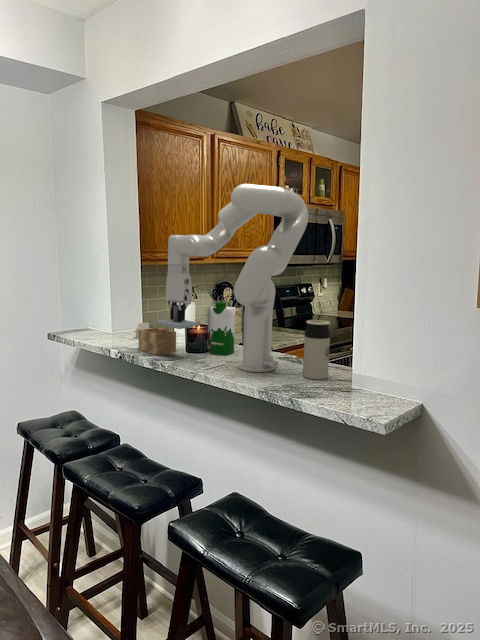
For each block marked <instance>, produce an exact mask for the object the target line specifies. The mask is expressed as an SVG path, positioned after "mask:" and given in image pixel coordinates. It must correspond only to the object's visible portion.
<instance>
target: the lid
mask: <svg viewBox="0 0 480 640" xmlns="http://www.w3.org/2000/svg"><path fill="white" fill-rule="evenodd" d="M177 310H179V309H178V304H177V305H173V320H171V319H170V318H167V319H157V320H155V321H156V324H159V325H162V326H164V327H168V328H173V329H177V330H181V329H190V328H194V327H195V326H196V327H197V326H199V325H200V324H199V322H197V321H191V320H187V319H185V321H177Z"/></svg>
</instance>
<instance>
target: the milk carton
mask: <svg viewBox="0 0 480 640" xmlns="http://www.w3.org/2000/svg"><path fill="white" fill-rule="evenodd" d="M209 308H210V317H211V323H210V348H209V354H210V355H217V356H218V355H219V356H225V357H227V356H228V355H230V354H234V353H235V322H236V321H235V318H236V310H237V307H235V306H234V307H233V306H227V303H226V302H224V301H216V302H215V306H213V307H209Z"/></svg>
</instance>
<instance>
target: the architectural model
mask: <svg viewBox="0 0 480 640" xmlns="http://www.w3.org/2000/svg"><path fill="white" fill-rule="evenodd" d="M137 325H138V326H137V328H136V327H135V330H134V331H133V332H134V333H135V339H136V340H139V330H143V329H150V322H144V321H143V322H140V323H137Z"/></svg>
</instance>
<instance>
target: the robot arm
mask: <svg viewBox="0 0 480 640" xmlns="http://www.w3.org/2000/svg"><path fill="white" fill-rule="evenodd" d="M259 214H261V215H269V216H274V217H275V216H276V217H279V218H280V217H281V222H280V223H279V225H278V226H276V229H275V230H274V231H273V234H272V235H271V238H270V240H269V241H268V243H267V245H261V246H258V247H256V248H255V249H253V251H252V252H251V253H250V254H249V256H248V257H247V260H246V261H245V263H244V265H243V268H242V269H241V272H240V273H239V275H238V278H237V279H236V281H235V284H234V289H233V295H234V298H235V300H236V302H238V303H239V304H240V305H241V306H244V307H245V308H244V313H243V315H244V316H243V341H242V342H243V343H242V344H243V345H242V348H243V349H242V361H241V362H239V363H238V364H237V367H238V369H239V370H241V371H245V372H249V373H250V372H251V373H265V372H271V371H274V370H276V369H277V367H278V366H279V364H280V363H279V361H276V360H274V356H273V355H272V335H273V332H272V330H273V312H274V304H275V299H276V287H275V284H274V281H273V280H272V279H271V278H272V276H273V277H274V276H278V275H280V274H282V273H283V272H284V271H285V269H286V268H287V266H288V264H289V262H290V260H291V258H292V256H293V254H294V252H295V251H296V248H297V246H298V245H299V242H300V241H301V239H302V237H303V235H304V233H305V231H306V229H307V225H308V223H309V211H308V207H307V205H306V202H305V201H304V199H303V198H302V197H301V196H300V195H299V194H298V193H296V192H294V191H292V190H289V189H286V188H284V187H281V186H273V185H265V184H264V185H262V184H261V185H260V184H252V183H242V184H238V185H237V186H236V187H234V188H233V190H232V192H231V195H230V202H229V203H228V204H227V205H225V206H224V207H223V208H222V209H221V210H219V211H218V214H217V217H218V222H217V224H216V225H215V226H214V228H212V229H211V230H210V231H208V233H206V234H187V235H185V234H184V235H183V234H171V235H169V237H168V241H167V243H168V246H167V247H168V248H167V275H166V284H165V301H166V303H168V306H169V309H170V311H169V312H170V314H169V315H170V318H169V319H171V320H173V305H178V309H179V310H177V321H185V320H186V310H187V308H188V306H190V305H191V304H192V299H193V296H192V295H193V287H192V278H191V274H190V257H209V256H212V255H214V254H215V253H217V252H218V251H219V250H220V249H222V248H223V247H224V246H225V245H226V244H228V243H229V242H230V240H231V239H232V238H233V236H234V234H235V232H236V231H237V230H239V229H240V228H241V227H242V226H244V225H245V224H246V223H248V222H249V221H250V220H251V219H253V218H254V217H255V216H257V215H259Z"/></svg>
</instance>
